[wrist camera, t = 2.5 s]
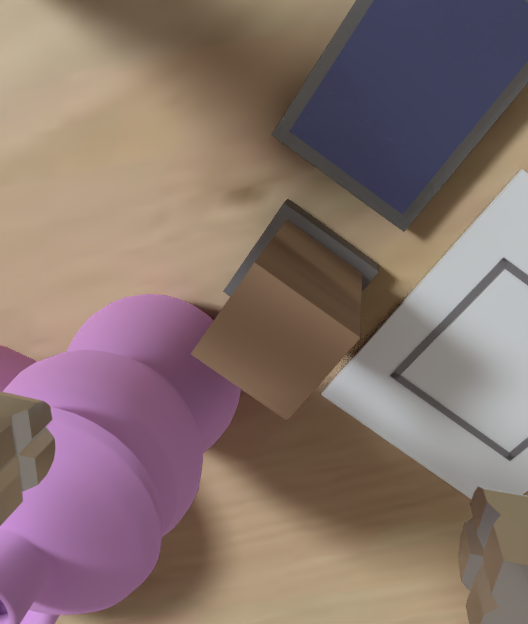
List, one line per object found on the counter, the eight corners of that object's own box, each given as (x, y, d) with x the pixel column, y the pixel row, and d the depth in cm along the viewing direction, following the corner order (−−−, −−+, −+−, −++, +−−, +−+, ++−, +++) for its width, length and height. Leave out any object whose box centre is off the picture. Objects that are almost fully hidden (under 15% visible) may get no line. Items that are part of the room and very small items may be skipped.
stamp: (312, 342, 22) (290, 438, 15) (229, 283, 21) (170, 356, 15) (378, 264, 20) (383, 335, 14) (287, 198, 20) (249, 239, 13)
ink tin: (402, 226, 19) (404, 233, 18) (276, 133, 19) (270, 135, 18) (566, 26, 16) (582, 19, 15) (417, -91, 15) (422, -108, 14)
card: (493, 512, 23) (495, 516, 23) (321, 392, 22) (320, 395, 22) (732, 329, 18) (737, 332, 18) (520, 169, 18) (523, 169, 17)
